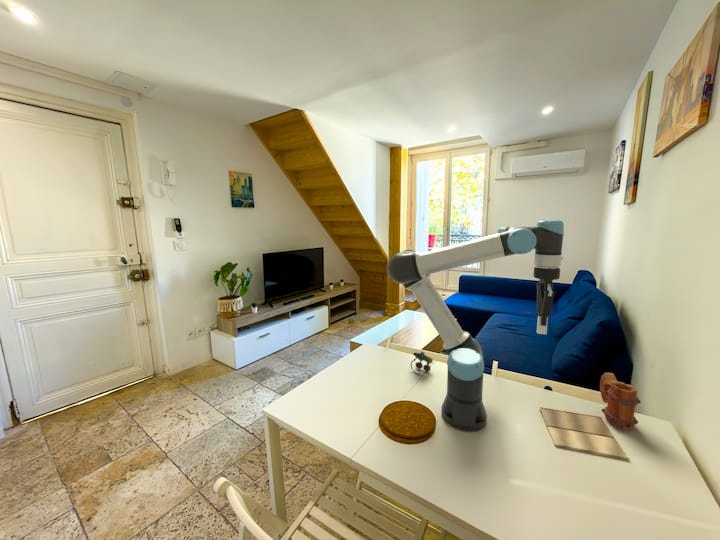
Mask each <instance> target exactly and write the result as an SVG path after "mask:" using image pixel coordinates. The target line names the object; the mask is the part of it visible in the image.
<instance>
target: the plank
mask: <svg viewBox="0 0 720 540" xmlns="http://www.w3.org/2000/svg"><path fill="white" fill-rule="evenodd" d="M539 412H540V415H541V417H542V418H543V421H544V423H545V427H546V428H547V426H548V427H554V428H559V429H565V430H571V431H576V432H582V433H588V434H593V435H599V436H604V437H610V438H615V436H614V435H613V433H612V431H611V430H610V429H609V427H608V426H607V424H606V423H605V420H604V419H603V418H602V416H597V415H592V414H585V413H578V412H572V411H566V410H561V409H560V410H559V409H554V408H547V407H541V406H540V407H539Z"/></svg>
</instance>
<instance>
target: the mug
mask: <svg viewBox="0 0 720 540" xmlns="http://www.w3.org/2000/svg"><path fill="white" fill-rule="evenodd" d="M599 391H600V392H599V393H600V396H601V399H602V401H603V403H605V404H607V406H605V407H604V408H601V412H602V413H603V415H604V416H605V417H604V418H605V419H606V421H607V423H608V424H610V425H612V426H613V427H614V428H617V429H620V430H623V431H631V430H632V429H633V427H635V426H636V425H638V423H639V421H638V420H637V418H636V417H635V411H636V407H637V406H638V404H641V400H640V399H639V398H638V390H637V389H636V387H634V386H633V385H631V384H627V383H625V382H622V381H618V379H617V378H616V376H615V374H614V373H613V372H604V373H603V374H602V375H601V378H600V381H599Z"/></svg>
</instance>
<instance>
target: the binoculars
mask: <svg viewBox="0 0 720 540" xmlns="http://www.w3.org/2000/svg"><path fill="white" fill-rule="evenodd" d="M413 356H414V357H415V358H414V359H413V360H412V361H411V362H410V368H411V370H412V371H413V372H414V373H416V374H417V375H419V373H418V372H416V371H415V370H414V369H413V366H412V365H413V362H416V360H418V361H417V362H416V363H415V367H416V369H418V370H420V369H423V371H425V372H424V373H423V375H425V374H427V373H428V372H430V371H431V366H430V364H432V363H433V362H434V360H433V357H430V356H428V355H425V352H424V351H420V353H419V352H413ZM423 361H424V362H426V364H424V365H423V363H422V362H423Z"/></svg>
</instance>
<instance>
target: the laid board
mask: <svg viewBox="0 0 720 540" xmlns="http://www.w3.org/2000/svg"><path fill="white" fill-rule="evenodd" d="M546 428H547V431H548V433H549V436H550V438H551V441H552V443H553V445H554V447H556V448H557V447H558V448H563V449H567V450H573V451H578V452H583V453H588V454H594V455H598V456H605V457H609V458H614V459H617V460H619V459H620V460H625V461H629V459H630V458H629V456H628V455H627V453H626V452H625V450H624V449H623V448H622V447H621V445H620V444H619V442H618V441H617V439H616V438H615V437H614V438H610V437H604V436H599V435H593V434H588V433H582V432H576V431H571V430H565V429H559V428H554V427H548V426H547V427H546Z"/></svg>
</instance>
